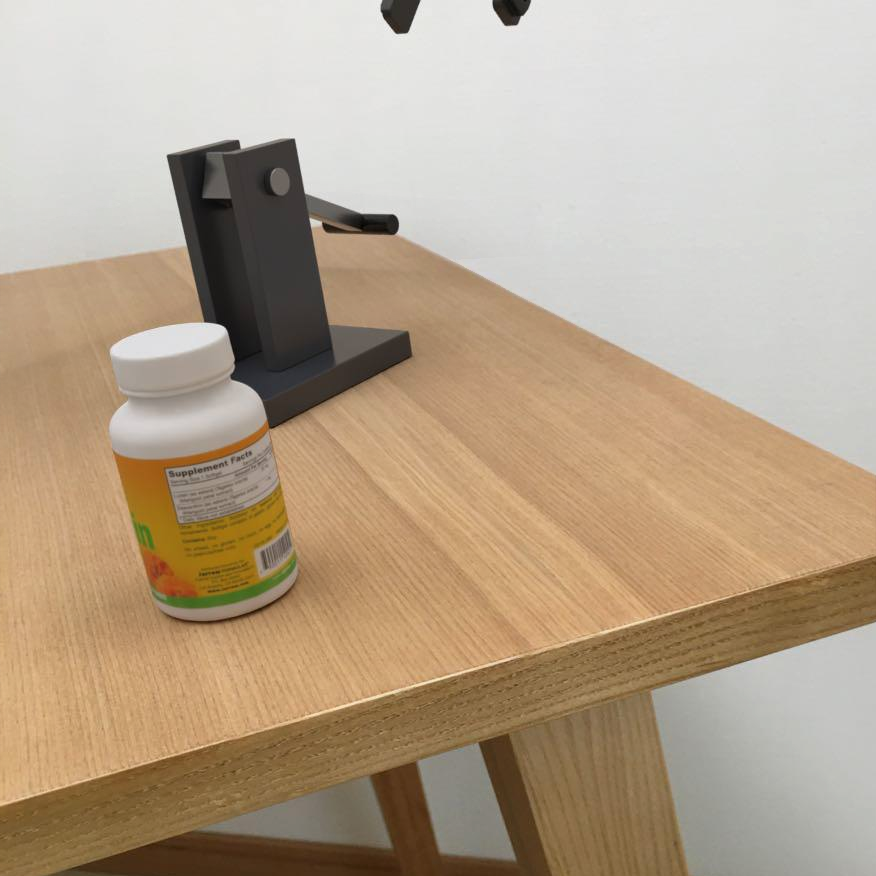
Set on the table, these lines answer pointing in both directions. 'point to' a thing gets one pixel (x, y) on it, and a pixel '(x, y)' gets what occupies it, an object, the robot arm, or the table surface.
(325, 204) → the press lever
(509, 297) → the table surface
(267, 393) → the bracket
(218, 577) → the supplement bottle
